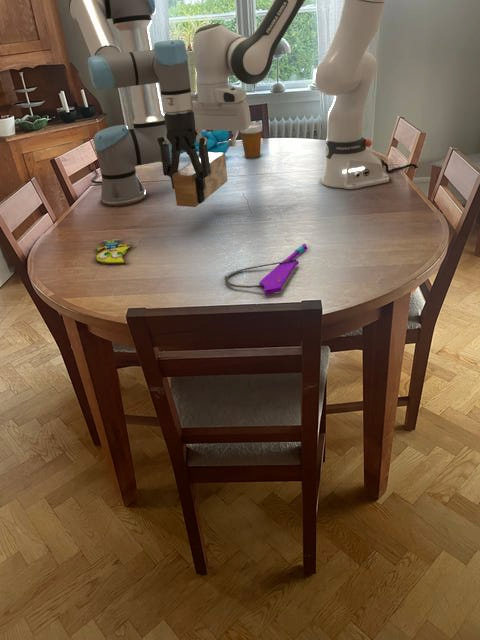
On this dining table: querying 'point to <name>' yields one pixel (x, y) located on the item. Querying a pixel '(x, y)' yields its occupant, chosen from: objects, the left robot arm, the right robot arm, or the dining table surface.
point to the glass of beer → (252, 140)
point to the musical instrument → (275, 273)
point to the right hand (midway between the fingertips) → (217, 145)
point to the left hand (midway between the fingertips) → (190, 201)
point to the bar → (187, 177)
